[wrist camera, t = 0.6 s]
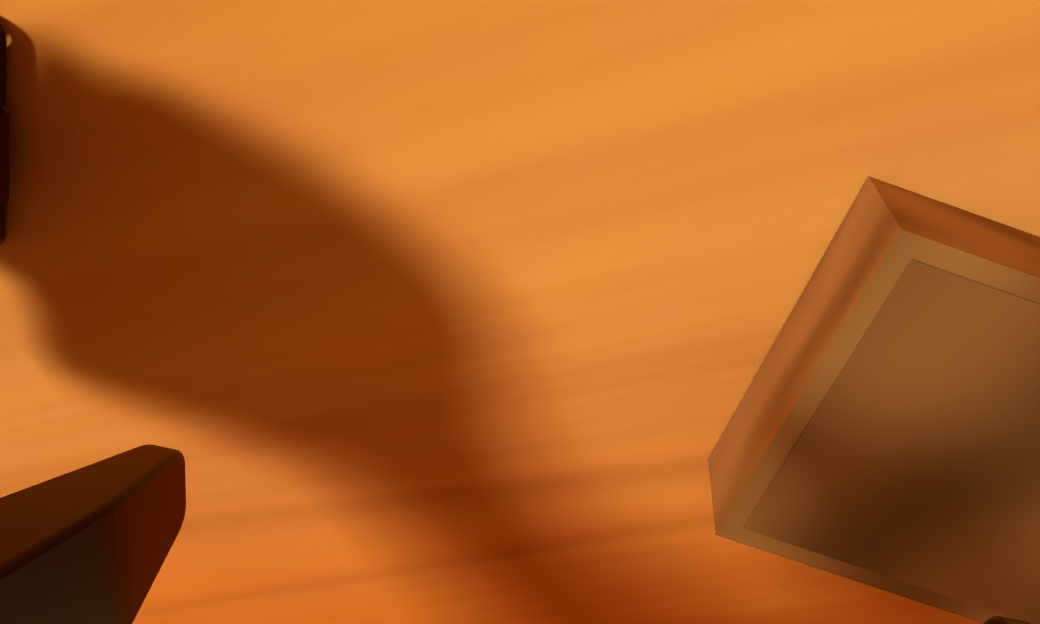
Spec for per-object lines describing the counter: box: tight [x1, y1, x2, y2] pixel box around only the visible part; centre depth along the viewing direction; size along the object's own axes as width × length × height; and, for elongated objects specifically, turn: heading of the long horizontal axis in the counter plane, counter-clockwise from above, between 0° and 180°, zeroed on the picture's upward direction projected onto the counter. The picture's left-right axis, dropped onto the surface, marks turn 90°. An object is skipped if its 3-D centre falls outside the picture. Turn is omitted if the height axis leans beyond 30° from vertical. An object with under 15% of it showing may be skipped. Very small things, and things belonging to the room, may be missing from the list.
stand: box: [708, 176, 1040, 624], centre depth 21 cm, size 9×9×3 cm
